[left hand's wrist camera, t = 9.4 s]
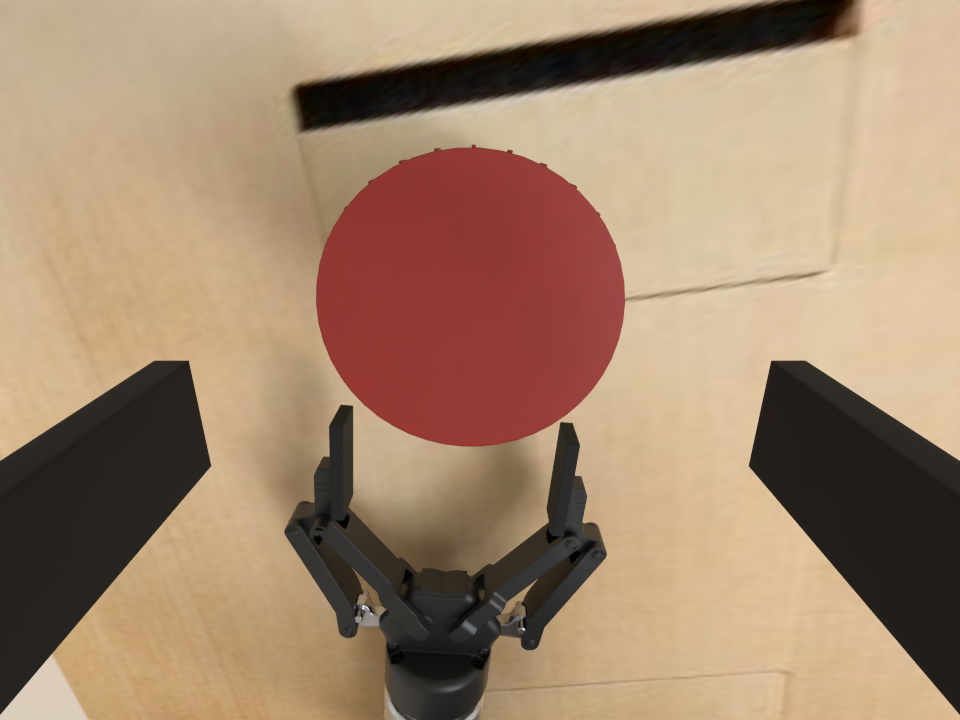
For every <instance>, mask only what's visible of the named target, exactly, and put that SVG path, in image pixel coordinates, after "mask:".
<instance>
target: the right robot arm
mask: <svg viewBox="0 0 960 720" xmlns="http://www.w3.org/2000/svg"><path fill="white" fill-rule="evenodd" d="M329 439H330V457H323V458H322V460H321V462H320V464H319V466H318V468H317V470H316V472H315V475H314V489H315V490H314V492H315V503H310V502H307V501H302V502H300V503H299V504H298V505H297V507H296V509H295V511H294V513H293V515H292V516H291V518H290V520H289V522H288V524H287V526H286V528H285V532H284V533H285V535H286V537H287V538H288V540H289V541H290V543H291V545H292V546H293V548H294V549H295V551H296V552H297V554H298V555H299V557H300V558H301V560H302V561H303V563H304V565H305V566H306V568H307V569H308V571H309V572H310V574H311V575H312V577H313V578H314V580H315V581H316V583H317V585H318V586H319V588H320V589H321V591H322V592H323V594H324V595H325V597H326V598H327V600H328V601H329V603H330V604H331V606H332V608H333V609H334V611H335V612H336V616H337V622H338V628H339V632H340V634H341V635H342V636H343V637H345V638H352V637H354V636H355V635H356V634H357V630H358V627H380V629H381V631H382V632H383V633H384V635H385V638H386V656H385V686H384V720H482V718H483V710H484V701H485V692H486V684H487V678H488V670H489V663H490V655H491V647H492V644H493V643H494V641H495V640H496V639H497V638H498V637H499V635H502V636H509V637H515V638H521V646H522V648H524V649H526V650H534V649H536V648H537V647H538V645H539V642H540V639H541V636H542V633H543V630H544V627H545V626H546V625H547V624H548V623H549V622H550V620H551V619H552V618H553V617H554V616H555V615H556V614H557V612H558V611H559V610H560V609H561V608H562V607H563V606H564V605H565V603H566V602H567V601H568V600H569V599H570V598H571V597H572V595H573V594H574V593H575V592H576V591H577V590H578V589H579V587H580V586H581V585H582V584H583V583H584V582H585V581H586V580H587V578H588V577H589V576H590V575H591V574H592V573H593V572H594V570H595V569H596V568H597V567H598V566H599V565H600V564H601V562H602V561H603V560H604V559H605V558H606V554H607V553H606V550H605V546H604V543H603V540H602V537H601V533H600V530H599V527H598V525H597V524H595V523H592V522H591V523H586V524H585V523H582V520H583V515H584V509H585V504H586V499H587V495H586V491H585V487H584V484H583V481H582V478H581V476H575V470H576V465H577V459H578V453H579V448H580V444H579V441H578V438H577V435H576V432H575V429H574V426H573V423H564V422H560V429H559V435H558V441H557V447H556V453H555V460H554V466H553V472H552V478H551V485H550V491H549V497H548V503H547V513H548V518H549V523H547V524H546V525H545V526H543V527H542V528H541V529H540V530H538V531H537V532H536V533H534V534H533V535H532V536H531V537H529V538H528V539H527V540H525V541H524V542H523V543H521V544H520V545H519V546H518V547H516V548H515V549H514V550H512V551H511V552H510V553H509V554H507V555H506V556H505V557H503V558H502V559H501V560H500V561H498V562H497V563H496V564H494V565H491V564H488V565H486V566H485V567H484V568H482V569H481V570H480V571H479V572H477V573H476V574H475V575H473V576H469V575H467V571H457V570H456V571H449V572H443V571H439V570H436V569H428V568H423V569H422V572H418V573H417V572H416V571H415V570H414V569H413V568H412V567H411V566H410V565H409V564H408V563H407V562H406V561H405V560H404V559H403V558H397V557H396V556H395V555H394V554H393V553H392V552H391V551H390V550H389V549H388V548H387V547H386V546H385V545H384V544H383V543H382V542H381V541H380V540H379V539H378V538H377V537H376V536H375V534H374V533H373V532H372V531H371V530H370V529H369V528H368V527H367V526H366V525H365V524H364V523H363V522H362V521H361V520H360V519H359V518H358V517H357V516H356V515H355V514H354V513H353V512H352V511H351V509H350V508H349V504H350V501H351V499H352V496H353V406H348V405H341V406H340V407H339V409H338V411H337V413H336V415H335V417H334V418H333V420H332V422H331V424H330V426H329ZM352 568H353V569H354V570H355V571H356V572H357V573H358V574H359V575H360V576H361V577H362V578H363V579H364V580H365V581H366V582H367V583H368V584H369V585H370V586H371V587H372V588H373V589H374V590H375V591H376V592H377V593H378V595H379V599H380V602H381V603H382V606H379V605H376V604H374V603H373V602H372V600H371V598H370V597H369V592H368V591H367V590H362V588H361V584H360V581H359V579H358V577H357V576H356V574H355V572H354V571H353V569H352ZM538 578H539V579H538ZM537 579H538V580H537ZM536 580H537V581H536ZM534 581H536V582H535V583H534V585H533V586H532V587H531V588H530V590H529V591H528V592H527V594H526V596H525V598H524V600H523V602H522V601H517V602H516V604H515V606H516V607H514V608H513V609H512V611H511V612H510V613H508V614H501V612H502V611H503V609H504V607H505V604H506V603H507V601H509V600H510V599H511V598H513V597H514V596H515V595H517V594H518V593H519V592H521V591H522V590H523V589H525V588H526V587H527V586H529V585H530V584H531V583H533V582H534Z"/></svg>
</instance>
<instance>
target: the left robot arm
mask: <svg viewBox="0 0 960 720" xmlns="http://www.w3.org/2000/svg"><path fill="white" fill-rule="evenodd" d="M210 467H211V463H210V458H209V454H208V449H207V444H206V440H205V435H204V430H203V426H202V421H201V416H200V412H199V407H198V402H197V398H196V393H195V388H194V384H193V379H192V374H191V370H190V365H189V361H153V362H152V363H150V364H149V365H147V366H146V367H144V368H143V369H141V370H140V371H138V372H136V373H135V374H133V375H132V376H130V377H129V378H127V379H126V380H124V381H123V382H121V383H120V384H118V385H116V386H115V387H113V388H112V389H110V390H109V391H107V392H106V393H104V394H103V395H101V396H100V397H98V398H96V399H95V400H93V401H92V402H90V403H89V404H87V405H86V406H84V407H83V408H81V409H80V410H78V411H76V412H75V413H73V414H72V415H70V416H69V417H67V418H66V419H64V420H63V421H61V422H60V423H58V424H56V425H55V426H53V427H52V428H50V429H49V430H47V431H46V432H44V433H43V434H41V435H40V436H38V437H36V438H35V439H33V440H32V441H30V442H29V443H27V444H26V445H24V446H23V447H21V448H20V449H18V450H16V451H15V452H13V453H12V454H10V455H9V456H7V457H6V458H4V459H3V460H1V461H0V714H1V713H2V712H3V711H4V710H5V708H6V707H7V706H8V705H9V704H10V702H11V701H12V700H13V699H14V698H15V697H16V695H17V694H18V693H19V692H20V691H21V690H22V688H23V687H24V686H25V685H26V684H27V682H28V681H29V680H30V679H31V678H32V677H33V675H34V674H35V673H36V672H37V671H38V669H39V668H40V667H41V666H42V665H43V664H44V662H45V661H46V660H47V659H48V658H49V657H50V655H51V654H52V653H53V652H54V651H55V649H56V648H57V647H58V646H59V645H60V644H61V642H62V641H63V640H64V639H65V638H66V637H67V635H68V634H69V633H70V632H71V631H72V629H73V628H74V627H75V626H76V625H77V624H78V622H79V621H80V620H81V619H82V618H83V616H84V615H85V614H86V613H87V612H88V611H89V609H90V608H91V607H92V606H93V605H94V604H95V602H96V601H97V600H98V599H99V598H100V596H101V595H102V594H103V593H104V592H105V591H106V589H107V588H108V587H109V586H110V585H111V583H112V582H113V581H114V580H115V579H116V578H117V576H118V575H119V574H120V573H121V572H122V571H123V569H124V568H125V567H126V566H127V565H128V563H129V562H130V561H131V560H132V559H133V558H134V556H135V555H136V554H137V553H138V552H139V551H140V549H141V548H142V547H143V546H144V545H145V543H146V542H147V541H148V540H149V539H150V538H151V536H152V535H153V534H154V533H155V532H156V530H157V529H158V528H159V527H160V526H161V525H162V523H163V522H164V521H165V520H166V519H167V518H168V516H169V515H170V514H171V513H172V512H173V510H174V509H175V508H176V507H177V506H178V505H179V503H180V502H181V501H182V500H183V499H184V497H185V496H186V495H187V494H188V493H189V492H190V490H191V489H192V488H193V487H194V486H195V485H196V483H197V482H198V481H199V480H200V479H201V477H202V476H203V475H204V474H205V473H206V472H207V470H208V469H209V468H210ZM749 467H750V468H751V469H752V470H753V472H754V473H755V474H756V475H757V476H758V477H759V479H760V480H761V481H762V482H763V483H764V485H765V486H766V487H767V488H768V489H769V490H770V492H771V493H772V494H773V495H774V496H775V497H776V499H777V500H778V501H779V502H780V503H781V505H782V506H783V507H784V508H785V509H786V510H787V512H788V513H789V514H790V515H791V516H792V518H793V519H794V520H795V521H796V522H797V523H798V525H799V526H800V527H801V528H802V529H803V530H804V532H805V533H806V534H807V535H808V536H809V538H810V539H811V540H812V541H813V542H814V543H815V545H816V546H817V547H818V548H819V549H820V551H821V552H822V553H823V554H824V555H825V556H826V558H827V559H828V560H829V561H830V562H831V563H832V565H833V566H834V567H835V568H836V569H837V571H838V572H839V573H840V574H841V575H842V576H843V578H844V579H845V580H846V581H847V582H848V583H849V585H850V586H851V587H852V588H853V589H854V591H855V592H856V593H857V594H858V595H859V596H860V598H861V599H862V600H863V601H864V602H865V604H866V605H867V606H868V607H869V608H870V609H871V611H872V612H873V613H874V614H875V615H876V616H877V618H878V619H879V620H880V621H881V622H882V624H883V625H884V626H885V627H886V628H887V629H888V631H889V632H890V633H891V634H892V635H893V637H894V638H895V639H896V640H897V641H898V642H899V644H900V645H901V646H902V647H903V648H904V649H905V651H906V652H907V653H908V654H909V655H910V657H911V658H912V659H913V660H914V661H915V662H916V664H917V665H918V666H919V667H920V668H921V670H922V671H923V672H924V673H925V674H926V675H927V677H928V678H929V679H930V680H931V681H932V682H933V684H934V685H935V686H936V687H937V688H938V690H939V691H940V692H941V693H942V694H943V695H944V697H945V698H946V699H947V700H948V701H949V703H950V704H951V705H952V706H953V707H954V708H955V710H956V711H957V712H958V713H959V714H960V461H959V460H957V459H956V458H954V457H953V456H951V455H950V454H948V453H947V452H945V451H944V450H942V449H940V448H939V447H937V446H936V445H934V444H933V443H931V442H930V441H928V440H927V439H925V438H924V437H922V436H920V435H919V434H917V433H916V432H914V431H913V430H911V429H910V428H908V427H907V426H905V425H904V424H902V423H900V422H899V421H897V420H896V419H894V418H893V417H891V416H890V415H888V414H887V413H885V412H884V411H882V410H880V409H879V408H877V407H876V406H874V405H873V404H871V403H870V402H868V401H867V400H865V399H864V398H862V397H860V396H859V395H857V394H856V393H854V392H853V391H851V390H850V389H848V388H847V387H845V386H844V385H842V384H840V383H839V382H837V381H836V380H834V379H833V378H831V377H830V376H828V375H827V374H825V373H824V372H822V371H820V370H819V369H817V368H816V367H814V366H813V365H811V364H810V363H808V362H807V361H771V365H770V369H769V374H768V379H767V384H766V388H765V393H764V398H763V402H762V407H761V412H760V416H759V421H758V426H757V430H756V435H755V440H754V444H753V449H752V454H751V458H750V463H749Z"/></svg>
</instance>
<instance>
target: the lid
mask: <svg viewBox="0 0 960 720" xmlns="http://www.w3.org/2000/svg"><path fill="white" fill-rule="evenodd" d="M512 152H513V151H512V150H507V152H505V151H500V150H493V149H485V148H476V145H472V148H453V149H446V150H441V149H440V148H436V149H434V152H431V153H427V154H424V155H420V156H417V157H414V158H412V159H409V160H401V161H399V163H400V164H398V165H396V166H394V167H392V168H391V169H389V170H388V171H386V172H385V173H383V174H382V175H380V176H378V177H377V178H375V179H374V180H370V181H369V182H368V183H369V184H368V185H367V186H366V187H365V188H364V189H363V190H362V191H360V192H359V193H358V194H357V196H356V197H355V198H354V199H353V200H352V201H351V203H350V204H349V205H348V206H347V207H345V208H344V211H343V213H342V214H341V216H340V218H339V219H338V221H337V222H336V224H335V225H334V227H333V229H332V231H331V234H330V236H329V238H328V239H327V242H326V245H325V248H324V251H323V254H322V258H321V261H320V265H319V271H318V278H317V288H316V305H317V314H318V322H319V326H320V330H321V334H322V338H323V342H324V344H325V347H326V349H327V352H328V354H329V357H330V359H331V361H332V363H333V364H334V366H335V368H336V370H337V372H338V373H339V375H340V377H341V378H342V379H343V381H344V382H345V383H346V385H347V386H348V387H349V389H350V390H351V391H352V392H353V393H354V395H355V396H356V397H357V398H358V399H359V400H360V401H361V402H362V403H363V404H364V405H365V406H366V407H368V408H369V409H370V410H371V411H372V412H374V413H375V414H376V415H377V416H379V417H380V418H382V419H383V420H385V421H386V422H388V423H390V424H391V425H393V426H394V427H396V428H398V429H401V430H403V431H405V432H407V433H409V434H411V435H414V436H417V437H419V438H422V439H425V440H428V441H433V442H437V443H442V444H447V445H456V446H487V445H496V444H502V443H506V442H510V441H514V440H518V439H521V438H524V437H526V436H529V435H532V434H534V433H536V432H538V431H540V430H542V429H544V428H546V427H548V426H550V425H552V424H553V423H555V422H556V421H558V420H559V419H561V418H562V417H564V416H565V415H567V414H568V413H569V412H570V411H571V410H573V409H574V408H575V407H576V406H577V405H578V404H580V403H581V401H582V400H583V399H584V398H585V397H586V396H587V395H588V394H589V393H590V392H591V391H592V389H593V388H594V387H595V385H596V384H597V382H598V381H599V380H600V378H601V377H602V375H603V374H604V372H605V370H606V368H607V366H608V364H609V363H610V361H611V359H612V356H613V354H614V351H615V349H616V346H617V343H618V341H619V337H620V332H621V328H622V324H623V317H624V306H625V292H624V279H623V273H622V268H621V262H620V259H619V256H618V253H617V250H616V245H615V244H614V242H613V240H612V238H611V236H610V233H609V231H608V229H607V227H606V225H605V224H604V222H603V221H602V219H601V218H600V214H599V213H598V212H596V210H595V209H594V207H593V206H592V205H591V204H590V203H589V202H588V201H587V200H586V198H585V197H584V196H583V195H582V194H581V193H580V192H579V191H578V190H577V187H576V186H575V185H573V184H570V183H569V182H567V181H566V180H565V179H564V178H563V177H561V176H559V175H558V174H556V173H555V172H553V171H551V170H550V169H548V168H547V165H546V164H543V163H540V164H539V163H536V162H534V161H532V160H530V159H527V158H525V157H522V156H519V155H515V154H512Z"/></svg>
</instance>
